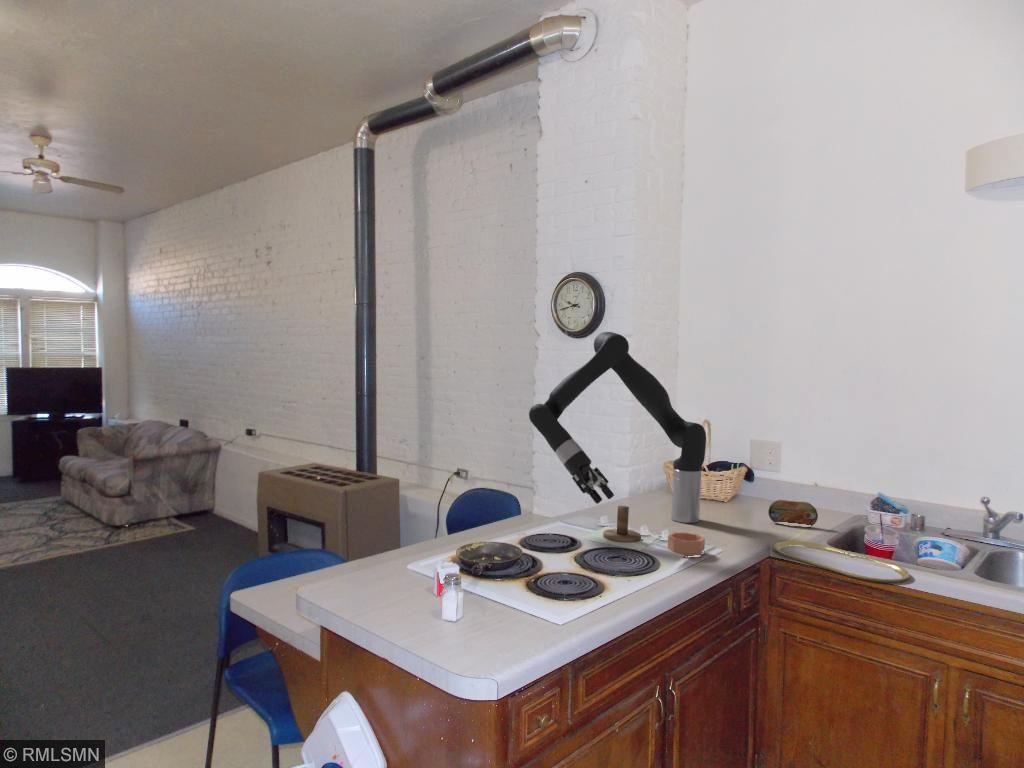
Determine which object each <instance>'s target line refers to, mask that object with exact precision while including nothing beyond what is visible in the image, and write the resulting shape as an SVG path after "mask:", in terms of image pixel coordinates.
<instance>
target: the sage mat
mask: <svg viewBox="0 0 1024 768" xmlns="http://www.w3.org/2000/svg"><path fill="white" fill-rule="evenodd" d="M611 527H612V526H608V527H606V526H604V527H602V528H600V529H597V530H596V531H594V532H591V533H590V534H587V535H585V536H583V537H581V538H580V540H585V541H589V542H590V541H591V542H596V543H601V544H606V545H612V546H615V547H616V546H617V547H620V548H621V547H622V548H627V549H631V550H632V549H633V550H635V551H636V550H637V551H641V550H643V549H645V548H646V547H647V546H649V545H650V544H652V543H654V542H655V541H651V540H647V539H641V540H640V541H638V542H631V543H624V542H615V541H611V540H608V539H605V538H604V537H603V532H604V531H605V530H609V529H613V528H614V527H613V528H611ZM650 534H651V533H650ZM651 536H652V537H654V538H659V536H660V535H658V534H657V535H656V534H651ZM659 539H660V538H659Z"/></svg>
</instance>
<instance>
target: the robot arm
mask: <svg viewBox="0 0 1024 768" xmlns="http://www.w3.org/2000/svg"><path fill="white" fill-rule="evenodd" d="M629 344H630V343H629V341H628V340H627V338H626V337H625V336H624V335H622V334H620V333H616V332H613V331H604V332H601V333H599V334H597V335H596V337H595V339H594V341H593V349H594V353H595V354H594V355H593V356H592V357H591V359H589V361H587V362H586V363H584V364H583V365H582V366H581V367H579V368H577V369H576V370H574V371H573V372H571V373H570V374H569V375H567V376H566V377H565V378H563V379H562V380H561V382H559V383H558V385H557V386H555V387H554V388H553V390H552V391H551V392H550V393H549V396H548V399H547V400H546V401H545V402H544V403H536V404H534V405H532V406H531V408H530V409H529V412H528V417H529V418H528V419H529V421H530V422H531V423H532V425H533V426H534V428H536V429H537V431H538V432H539V433H540V434H541V435H542V436H543V437H544V439H545V440H546V442H547V444H548V446H549V447H550V448H551V449H552V451H553V452H554V453H555V454H556V456H557V459H559V461H560V462H561V464H562V465H563V467H565V469H566V470H567V472H568V473H569V474H570V476H572V480H573V481H574V483H575V484H576V486H577V487H578V488H579V490H580V491H581V492H582V494H587V495H589V496H590V498H591V499H592V500H593V502H594V503H595V504H597V505H598V504H600V503H601V502H602V501H603V497H601V495H600V494H599V492H598V491H597V490H596V489H595V488H594V487H597V488H598V489H599V490H601V492H602V493H603V494H604V496H605V497H606V498H607V499H608V500H610V499H612V498H613V497H614V496H615V494H614V492H613V490H611V488H610V487H609V486H608V484H609V480H608V479H607V478H606V477H605V475H604V473H602V472H601V470H600V469H599V468H598V467H595V468H592V467H591V464H592V459H591V458H590V457H589V455H587V454H586V452H585V451H584V450H583V448H582V447H581V446H580V445H579V444H578V442H577V441H575V440H574V438H573V437H572V436H571V434H570V433H569V432H568V431H567V430H566V429H565V428H564V426H563V425H562V424H561V423H560V422H559V420H558V419H559V418H560V417H561V415H562V414H563V413H564V411H565V410H566V408H567V407H570V404H572V403H573V402H574V401H575V400H576V399H577V398H578V397H579V396H580V395H581V394H582V393H583V392H584V391H585V390H586V389H587V388H588V387H590V386H591V384H593V382H594V381H596V380H597V379H598V378H600V377H601V376H602V375H604V374H605V373H606V372H608V371H609V370H610V369H611V370H613V371H614V373H616V375H617V376H618V377H619V378H620V380H621V382H622V383H623V384H624V385H625V387H626V388H627V389H628V390H629V391H630V393H631V394H632V395H633V396H634V398H635V399H636V400H637V402H638V403H640V405H641V406H642V407H643V408H644V409H645V410H646V411H647V412H648V413H649V415H650V416H651V417H652V418H653V419H654V420H655V421H656V422H657V423H658V424H659V426H660V427H661V428H662V429H663V431H664V433H665V435H667V437H668V438H669V440H670V441H671V443H672V444H673V445H674V446H676V447H677V448H680V449H681V452H680V454H681V455H680V456H679V457H678V458H676V459H675V460H673V465H672V466H673V467H672V469H673V470H672V492H671V507H670V508H671V511H670V512H671V513H670V519H671V520H672V521H675V522H678V523H679V522H680V523H686V524H695V523H699V522H700V510H701V491H702V490H701V488H702V487H701V486H702V469H703V468H702V467H703V465H704V461H705V457H706V446H707V433H706V430H705V428H704V426H703V425H701V424H700V423H697V422H693V421H687V420H685V419H684V418H683V417H682V416H680V415H679V414H678V413H677V412H676V410H675V409H674V408H673V406H672V403H671V399H670V396H669V393H668V392H667V390H666V388H665V387H664V386H663V384H661V382H660V381H659V379H657V378H656V377H655V376H654V375H653V374H652V373H651V372H650V371H649V370H647V369H646V367H644V366H642V365H641V364H640V363H639V362H637V360H635V359H634V358H633V357H632V356H631V355H630V353H629V350H630V345H629Z"/></svg>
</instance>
